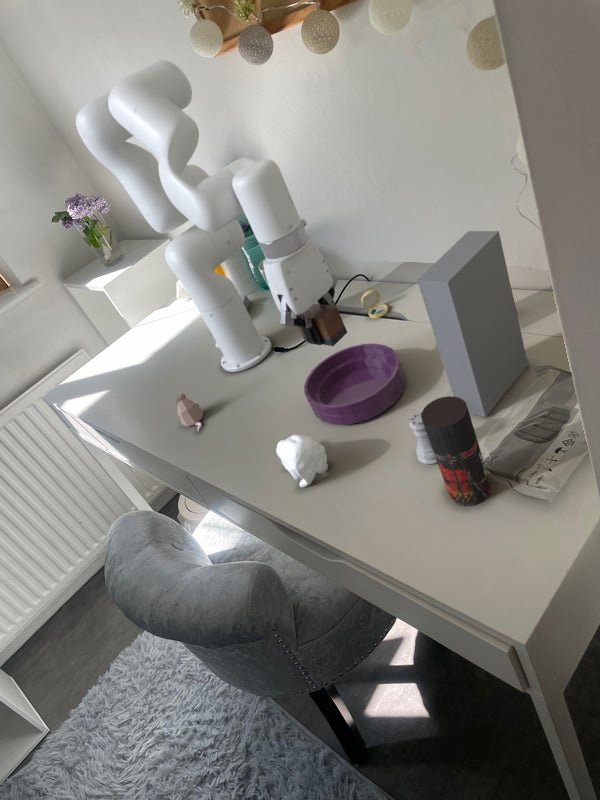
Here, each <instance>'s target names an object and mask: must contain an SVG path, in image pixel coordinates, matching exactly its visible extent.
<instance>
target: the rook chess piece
mask: <svg viewBox="0 0 600 800" xmlns="http://www.w3.org/2000/svg"><path fill="white" fill-rule="evenodd" d="M421 414H422V411H417V414H416V413H412V416H410V417H409V423H408V426H409V428H410V429H411V430H413V431H412V433H413V435H414V436H415V437H416V441H417V442H416V449H415V454H416V458H417V460H418V461H419V462H420V463H422V464H425V465H434V464H438V463H437V460H436V457H435V455H434V452H433V449H432V446H431V444H430V441H429V438H428V435H427V432H426V430H425V427H424V424H423V421H422V418H421Z"/></svg>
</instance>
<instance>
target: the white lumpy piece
mask: <svg viewBox="0 0 600 800" xmlns="http://www.w3.org/2000/svg"><path fill="white" fill-rule="evenodd" d="M275 451H276V455H277V456H278V458H279V459H280V461H279V464H282V466H283V467H284V468H285V470H286V471H288V472H289V473H290V475H291V476H292V477H293V478H294V480H295V481H297V480H298V479H299V478H300V479H301V480H300V481H299V487H300V488H306V487H309V486H310V485H311V484H312V483H313V481H314V480H315V478H316V474H324V473H326V472H327V470H328V468H329V465H328V463H327V461H328V457H327V453H326V448H325V447H324V445H323V444H321V443H320V442H318V440H317V439H315V438H314V437H312V436H310V435H304V434H292V435H290V436H288V437H287V438H286V439H281V440H280V441H278V443H277V446H276V449H275Z"/></svg>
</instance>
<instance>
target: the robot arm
mask: <svg viewBox="0 0 600 800" xmlns="http://www.w3.org/2000/svg"><path fill="white" fill-rule="evenodd" d="M192 97H193V90H192V85H191V83H190V81H189V78H188V76H187V75H186V74H185V72H184V71H183V70H182V69H181V68H180V67H179V66H178V65H177V64H175V63H174V62H171V61H169V60H165V59H164V60H163V59H160V60H157V61H154V62H152V63H150V64H149V65H146V66H144V67H143V68H141V69H139V70H137V71H135V72H133V73H131V74H129V75H127V76H125V77H124V78H122V79H121V80H119V81H118V82H116V83H115V85H114V86H113V87H112V88H111V89H110V90H109V91H107V92H105V93H102V94H101V95H99V96H97V97H96V98H93V99H92V100H90V101H89V102H88V103H86V104H85V105H84V106H83V107H81V109H80V110H79V111H78V113H77V115H76V118H75V126H76V130H77V133H78V135H79V137H80V139H81V140H82V143H83V144H84V145H85V146H86V148H87V150H88V151H89V152H90V153H91V154H92V155H93V157H94V158H95V159H97V161H98V162H100V164H102V165H103V166H104V167H105V168H106V169H107V170H109V171H110V172H111V173H112V174H113V175H114V176H115V177H116V178H117V180H118V182H120V184H121V186H123V188H124V189H125V191H126V192H127V194H128V195H129V197H130V199H131V200H132V201H133V203H134V204H135V206H136V207H137V209H138V211H139V212H140V213H141V215H142V217H143V218H144V219H145V221H146V222H147V223H148V224H149V225H150V228H151V229H153V230H154V231H155V232H157V233H159V234H168V233H170V232H172V231H174V230H176V229H178V228H179V227H181V226H183V225H184V224H186V223H187V222H189V221H190V222H191V223H192V224H193V225H192V226H191V227H189V228H187V229H186V230H184V231H183V232H181V233H180V234H178V235H177V236H175V237H174V238H173V239H172V240H171V241H170V242H169V243H168V244H167V246H166V248H165V250H164V260H165V262H166V264H167V266H168V268H169V269H170V270H171V272H172V273H173V274H174V275H175V277H176V278H177V280H179V283H181V284H182V286H183V287H184V288H185V290H186V291H187V293H188V295H189V296H190V298H191V300H192V302H193V303H194V305H195V307H196V308H197V310H198V312H199V314H200V315H201V317H202V319H203V321H204V323H205V324H206V326H207V328H208V330H209V332H210V334H211V335H212V337H213V339H214V341H215V348H217V349H219V350H220V352H221V353H222V357H221V359H220V365H221V367H222V368H223V370H225V371H226V372H230V373H236V372H237V373H238V372H242V371H245V370H248V369H250V368H252V367H254V366H256V365H258V364H260V363H261V361H263V360H264V359H265V358H266V357H267V356H268V355H269V353H270V352H271V350H272V342H271V340H270V338H268V337H267V336H266V335H265V336H264V335H260V333H259V331H258V329H257V327H256V325H255V323H254V321H253V320H252V319H253V318H252V317H251V315H250V314H249V311H248V310H247V309H246V307H245V305H244V303H243V301H242V299H241V297H240V296H241V295H240V294H239V292H238V289H237V288H236V285H235V284H234V282H233V281H232V280H231V279H230V278H229V277H227V276H225V275H223V274H220V273H217V272H216V271H215V270H216V268H218V267H219V266H221V264H223V263H224V262H226V261H227V260H229V259H230V258H232V257H233V256H235V254H237V253H238V252H240V251H241V250H242V248H244V246H245V244H246V243H245V242H246V236H245V232H244V230H243V227H242V226H241V224H240V222H239V221H238V218H240V217H242V215H245V217H246V219H247V221H248V223H249V226H250V228H251V230H252V232H253V234H254V236H255V239H256V241H257V244H258V245H259V247H260V250H261V251H262V254H263V256H264V258H265V259H264V260H263V261H262V265H263V270H264V274H265V278H266V281H267V285H268V288H269V290H270V293H271V296H272V298H273V300H274V303H275V306H276V308H277V309H278V311H279V313H280V319H279V321H280V322H279V323H280V325H281V326H283V327H297V328H299V327H301V328H302V330H303V332H304V334H305V337H306V339H307V341H308V342H307V343H309V344H311V345H317V346H322V345H323V340H322V337H321V335H320V333H319V331H318V328H317V326H316V325H315V324H312V320H311V317H310V313H309V308H310V307H311V306H312V305H314V304H321V305H332V306H336V303H335V301H334V298H335V293H336V290H335V289H336V287H337V284H338V280H339V278H338V276H336V275H335V274H333V273H332V272H331V271H330V269H329V266H328V264H327V262H326V260H325V258H324V256H323V255H322V252H321V251H320V249H319V247H318V246H317V244H316V242H315V241H314V239H312V237H311V236H310V235H308V234H307V231H306V229H305V228H306V226H307V225H308V223H307V221H306V219H304V218H301V217H300V215H299V213H298V210H297V208H296V205H295V203H294V200H293V197H292V196H291V193H290V191H289V188H288V186H287V184H286V181H285V178H284V176H283V174H282V171H281V169H280V167H279V165H278V164H277V163H276V162H275V161H274V160H272V159H261V160H256V159H254V158H251V157H240V158H238V159H236V160H234V161H232V162H231V163H229V164H227V165H226V166H224V167H223V168H221V169H219V170H217V171H215V172H214V173H213V174H211V175H209V174H208V173H207V172H206V171H205V170H204V169H203V168H202V167H200V166H198V165H196V164H188V163H189V162H190V160H191V159H192V157H193V155H194V153H195V152H196V149H197V147H198V144H199V140H200V134H199V133H200V132H199V127H198V125H197V123H196V121H195V120H194V119H193V118H192V117H191V116H189V114H187V113H186V112H185V111H183V110H184V109H185V108H187V107H188V106H189V105H190V104H191V102H192V99H193V98H192ZM133 137H134V139H136V140H137V141H139V143H141V144H142V145H143V146H144V148H143V147H142V146H140V145H137V144H135V143H133V142H130V141H128V140H129V139H131V138H133ZM145 148H147V149H148V150H147V149H145ZM154 155H155V156H156V157H157V158H158V160H157V158H156V157H155V156H154ZM292 314H293V317H292ZM301 314H302V315H301ZM302 316H303V319H304V320H303V319H302Z"/></svg>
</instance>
